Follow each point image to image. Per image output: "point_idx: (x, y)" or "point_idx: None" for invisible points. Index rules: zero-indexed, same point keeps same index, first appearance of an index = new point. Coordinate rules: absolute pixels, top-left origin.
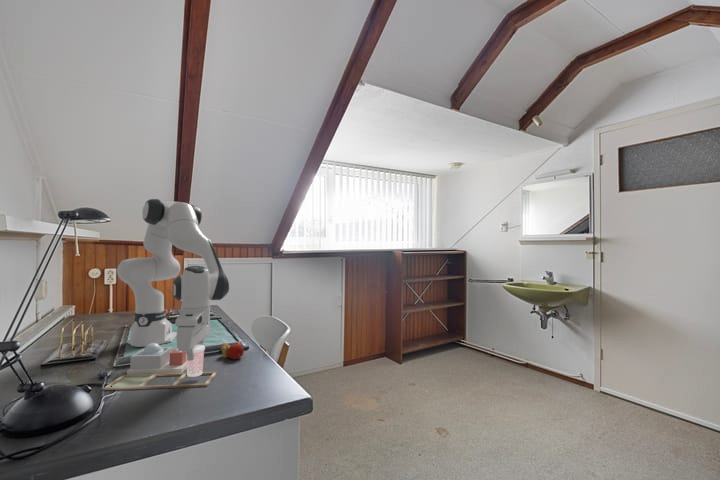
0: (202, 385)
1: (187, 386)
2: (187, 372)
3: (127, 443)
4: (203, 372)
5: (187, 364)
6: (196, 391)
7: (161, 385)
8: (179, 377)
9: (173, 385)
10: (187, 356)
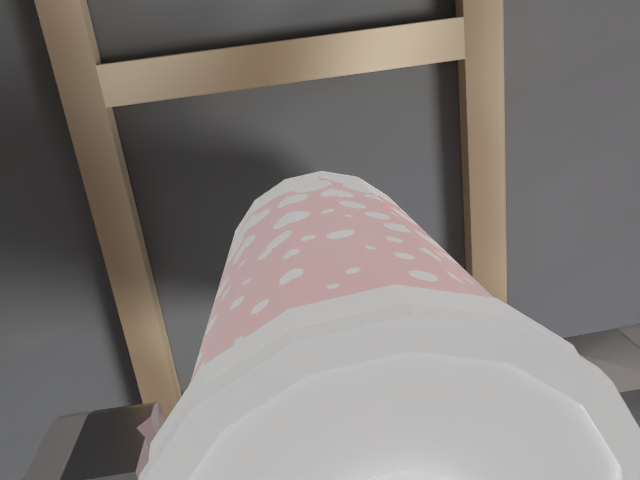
0: (144, 403)
1: (108, 261)
2: (250, 216)
3: None
4: (492, 255)
5: (232, 270)
6: (26, 396)
7: None
8: (332, 35)
9: (69, 102)
10: (30, 474)
